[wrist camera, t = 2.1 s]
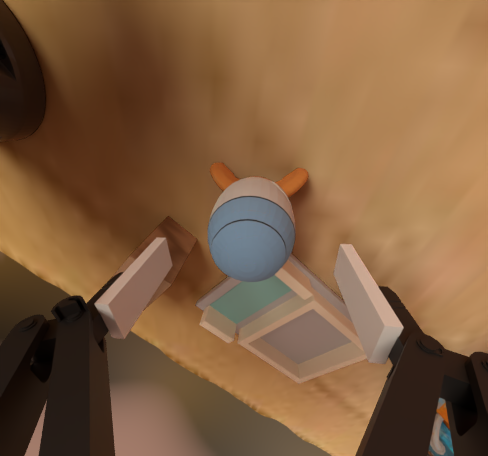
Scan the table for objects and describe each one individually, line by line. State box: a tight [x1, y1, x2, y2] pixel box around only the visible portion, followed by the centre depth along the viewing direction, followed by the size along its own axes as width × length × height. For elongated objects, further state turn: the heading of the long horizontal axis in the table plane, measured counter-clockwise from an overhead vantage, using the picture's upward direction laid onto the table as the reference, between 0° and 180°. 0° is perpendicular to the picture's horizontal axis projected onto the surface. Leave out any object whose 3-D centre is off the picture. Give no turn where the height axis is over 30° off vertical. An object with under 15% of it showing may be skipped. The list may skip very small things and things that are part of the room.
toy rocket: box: [208, 163, 308, 282], centre depth 20 cm, size 10×11×15 cm
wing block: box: [112, 216, 197, 310], centre depth 27 cm, size 5×12×9 cm, turn 137°
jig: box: [195, 254, 367, 384], centre depth 33 cm, size 24×18×4 cm
